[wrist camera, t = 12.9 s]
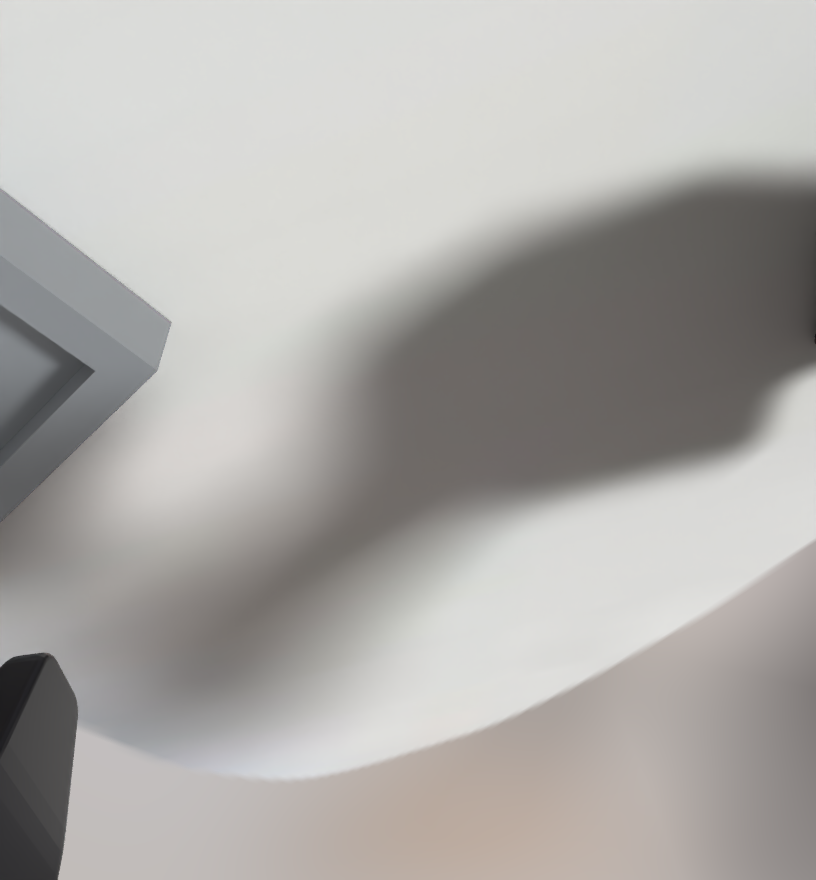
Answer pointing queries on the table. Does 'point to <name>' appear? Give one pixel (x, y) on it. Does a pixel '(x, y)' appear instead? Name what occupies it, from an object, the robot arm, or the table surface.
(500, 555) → the table surface
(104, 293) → the coaster tray
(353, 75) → the table surface
